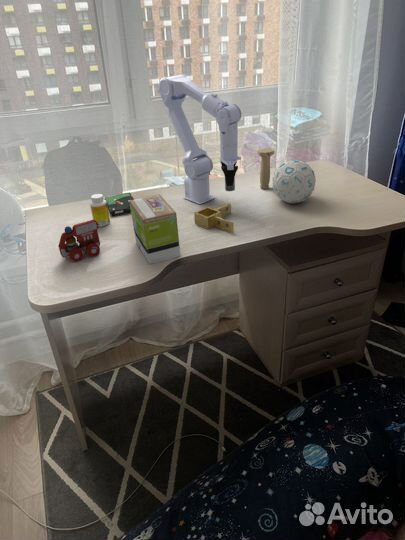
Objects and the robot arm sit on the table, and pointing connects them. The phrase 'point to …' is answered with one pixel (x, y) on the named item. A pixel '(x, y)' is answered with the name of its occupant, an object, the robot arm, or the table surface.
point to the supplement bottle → (99, 210)
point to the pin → (230, 188)
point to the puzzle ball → (294, 181)
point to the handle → (265, 166)
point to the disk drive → (119, 204)
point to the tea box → (155, 228)
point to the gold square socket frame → (214, 218)
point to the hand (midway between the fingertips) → (229, 183)
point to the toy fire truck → (80, 241)
